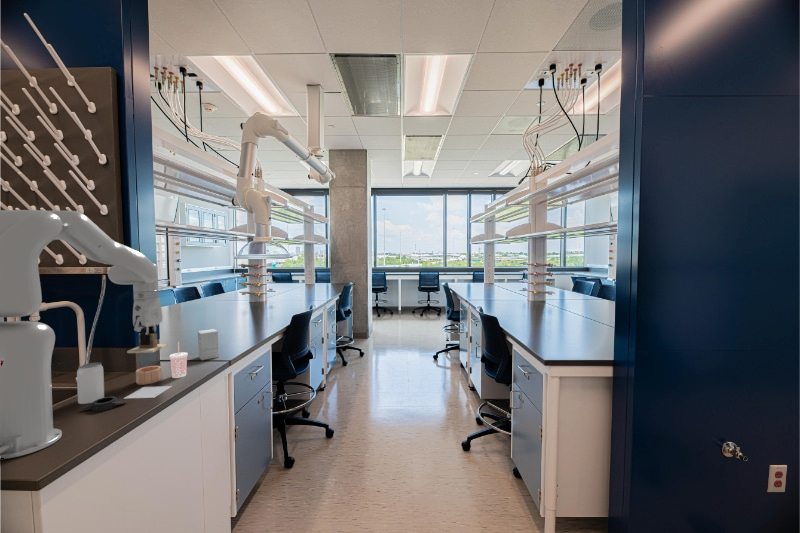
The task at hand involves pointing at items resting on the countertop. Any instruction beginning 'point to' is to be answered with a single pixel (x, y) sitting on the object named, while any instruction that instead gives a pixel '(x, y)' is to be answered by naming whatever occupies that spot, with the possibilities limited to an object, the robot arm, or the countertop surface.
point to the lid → (148, 346)
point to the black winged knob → (103, 404)
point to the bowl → (148, 375)
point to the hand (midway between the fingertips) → (148, 343)
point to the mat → (148, 392)
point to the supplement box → (208, 344)
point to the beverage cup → (178, 364)
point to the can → (90, 383)
